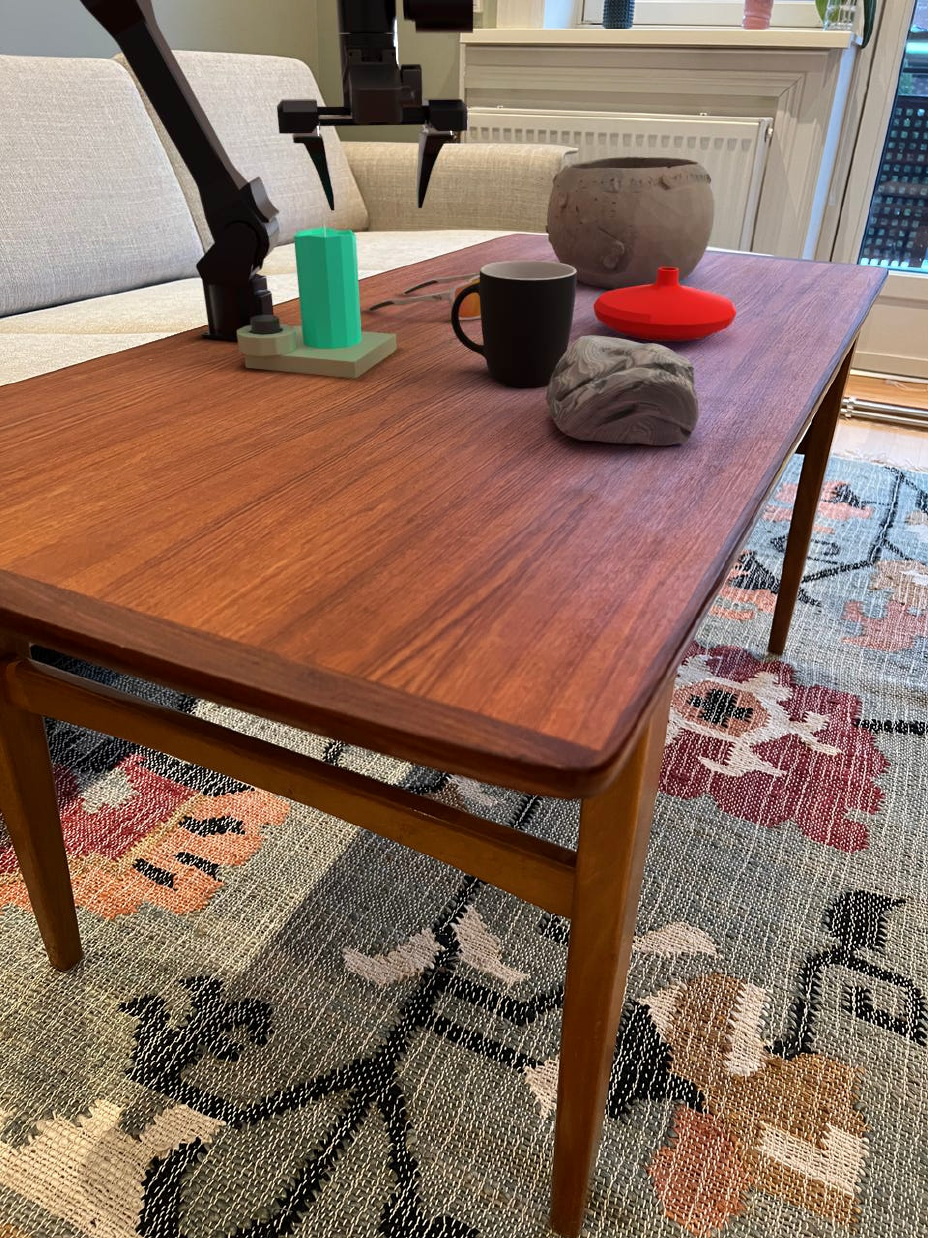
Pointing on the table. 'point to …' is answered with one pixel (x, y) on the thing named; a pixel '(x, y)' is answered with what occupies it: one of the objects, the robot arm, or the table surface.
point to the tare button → (265, 324)
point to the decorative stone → (623, 393)
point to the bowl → (630, 218)
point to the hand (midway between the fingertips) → (376, 208)
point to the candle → (328, 287)
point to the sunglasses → (442, 296)
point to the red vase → (664, 310)
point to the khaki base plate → (312, 352)
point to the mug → (522, 319)
